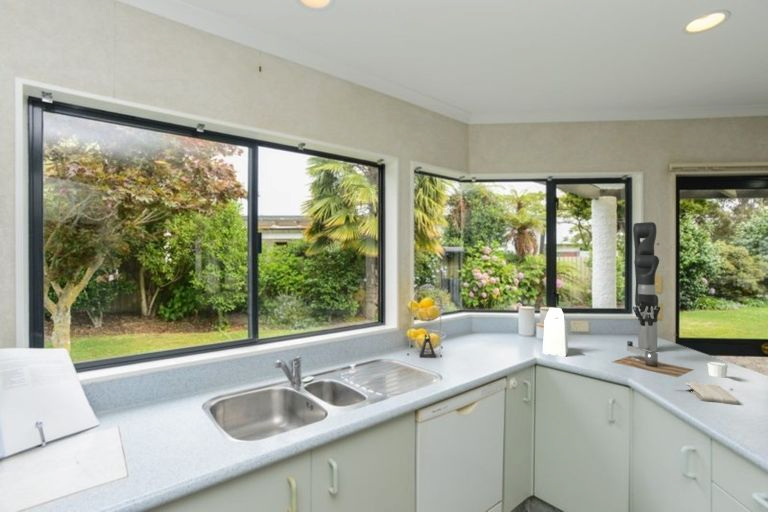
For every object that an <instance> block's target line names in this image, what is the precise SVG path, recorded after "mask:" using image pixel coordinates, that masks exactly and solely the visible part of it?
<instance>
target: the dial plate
mask: <svg viewBox="0 0 768 512" xmlns="http://www.w3.org/2000/svg"><path fill="white" fill-rule="evenodd" d="M612 363H613V364H618V365H622V366H628V367H632V368H636V369H640V370H643V371H644V370H645V371H647V372H652V373H657V374H661V375H665V376H670V377H674V378H679V377H681V376H683V375H686V374H687V373H690V372H692V371H694V370H695V369H694V368H688V367H684V366H681V365H680V366H679V365H674V364H670V363H666V362H665V363H664V362H661V361H658V366H656V367H654V366H648V365H645V358H641V357H637V356H633V355H632V356H631V355H628V356H625V357H621V358H620V359H617V360H614V361H612Z"/></svg>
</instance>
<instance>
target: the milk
mask: <svg viewBox="0 0 768 512" xmlns="http://www.w3.org/2000/svg"><path fill="white" fill-rule="evenodd" d="M542 339H543V340H542V341H543V343H542V354H543V353H544V354H543V355H548V354H551V355H550V356H555V355H559V356H558V357H563V356H566V355H568V354H569V344H568V343H569V342H568V341H569V340H568V323H567V318H566V316H565V313H564V312H563V309H562V307H561V308H560V307H549V309H548V311H547V313H546V315H545V318H544V323H543V338H542ZM567 353H568V354H567ZM566 357H567V356H566Z"/></svg>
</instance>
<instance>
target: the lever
mask: <svg viewBox="0 0 768 512" xmlns="http://www.w3.org/2000/svg"><path fill="white" fill-rule="evenodd" d="M626 343H627V344H626V351H628V352H630V353H633V354H636V355H638V356H640V357H643V358H644V359H645V365H648V366H654V367H656V366H658V362H659V361H658V360H659V359H658V357H659V356H658V353H657V352H651V351H648V350H646V349H641V348H638V346H634V345H633V344H634V343H633V341H631V340H628V341H627V342H626Z"/></svg>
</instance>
